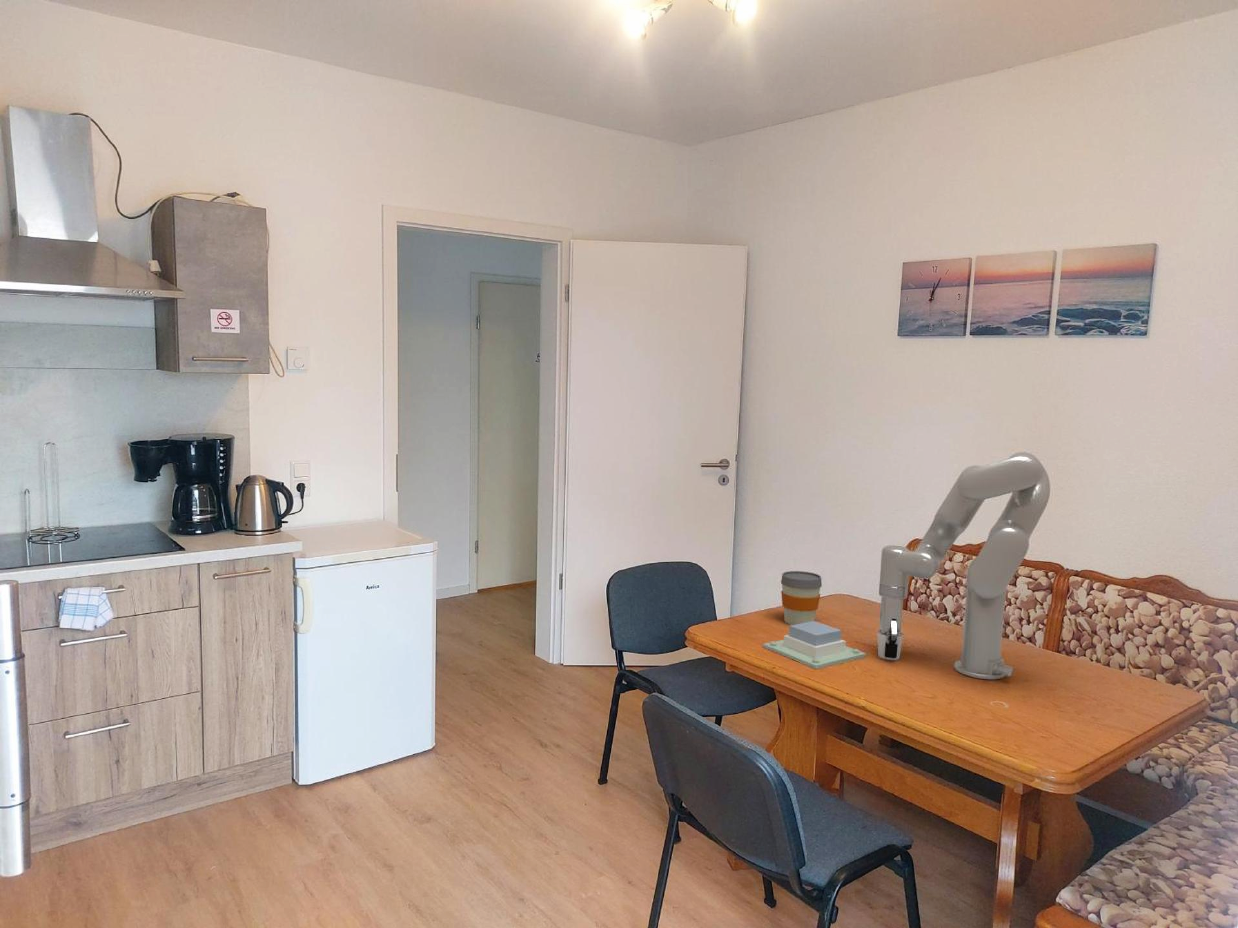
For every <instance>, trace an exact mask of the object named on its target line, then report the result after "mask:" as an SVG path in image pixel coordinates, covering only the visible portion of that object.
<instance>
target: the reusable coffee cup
mask: <svg viewBox="0 0 1238 928" xmlns="http://www.w3.org/2000/svg"><path fill="white" fill-rule="evenodd" d="M780 583H781V588H782V590H781V605H782V607H783V615H784V622H785V624H787V625H788V624H789V625H790V626H791V625H796V624H801V623H806V622H811V621H815V617H816V616H815V615H816V612H817V610H818V609H819V605H820V603H819V602H820V598H821V594H820V591H821V588H822V587H823V586H822V585H823V584H822V583H823V582H822V576H821V575H820V574H817V573H813V572H809V571H799V570H791V571H785V572H783V573H782V574H781V580H780Z"/></svg>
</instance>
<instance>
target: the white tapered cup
mask: <svg viewBox="0 0 1238 928" xmlns="http://www.w3.org/2000/svg"><path fill="white" fill-rule="evenodd" d="M889 632H891V630H889ZM890 636H891V635H889V637H890ZM903 638H904V633H903V632H902V631H901V632H900V633H899V634H898V637H897V644H898V647H897V658H887V657H885V656H884V655H885V643H887V632H885V633H883V632H882V631H881V629H878V630H877V651H878V652H877V656H878V657H879V658H880V659H883V660H886V661H887V660H888V661H898V660H899V659H900V656H901V650H902V645H903Z"/></svg>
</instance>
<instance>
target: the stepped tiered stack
mask: <svg viewBox="0 0 1238 928" xmlns="http://www.w3.org/2000/svg"><path fill="white" fill-rule="evenodd" d="M841 638H842V630H841V629H839V628H835V627H834V626H830V625H827V624H824V623H822V622H820V621H819V622H818V621H816V620H814V621H811V622H806V623H801V624H796V625H791V624H790V625H789V633H788V634H784V635H783V639H780V640H776V641H774V640H771V641H770V642H766V643H763V645H762V648H763V647H764V648H763V649H766V650H768V649H769V650H768V651H771V650H772V651H771V652H773V651H774V652H773V653H775V652H777V653H776V654H777V655H780V654H781V656H783V657H785V656H786V657H785V658H788V659H790V660H792V659H794V660H793V661H795V660H796V661H795V662H797V661H798V662H797V663H801V664H802V665H805V666H807V667H809V668H812V669H814V670H819V669H822V668H826V667H830V666H834V665H839V664H842V663H846V662H851V661H855V659H856V660H859V659H864V658H866V657H867V652H863V651H860V649H859V648H852V647H849V646H847V645H846V643H847V641H846V640H844V639H841Z"/></svg>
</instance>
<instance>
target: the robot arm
mask: <svg viewBox="0 0 1238 928" xmlns="http://www.w3.org/2000/svg"><path fill="white" fill-rule="evenodd" d="M1050 482H1051V481H1050V479H1049V474H1048V473H1047V470H1046V468H1045V467H1044V466H1043V464H1042V463H1041V461H1040V460H1039V459H1038V458H1037V456H1035V455H1034V454H1032V453H1030V452H1026V451H1025V452H1024V451H1020V452H1019V451H1018V452H1015V453H1013V454H1012V455H1010V456H1009V457H1008V458H1005V459H1002V460H998V461H995V462H992V463H988V464H984V465H981V466H980V465H970V466H968V467H966V468H964V469H963V471H961V473H960V474H959V475H958V477H957V479H956V481H955V482H954V484H953V486H952V487H951V489H949V492H948V494H947V495H946V497H945V499H944V500H943V501H942V503H941V504H940V506H939V508H938V510H937V511H936V513H935V515H934V518H933V519H932V520H933V521H932V522H931V524H930V526H929V528H928V529H927V531H926V532H925V534H924V535H923V537H922V539H921V541H920V542H919V544H918V545H917V547H916V548H915V550H913V551H912V550H910V549H909V548H907V547H905V546H902V545H891V544H890V545H885V546H883V548H882V549H881V555H880V556H881V559H880V574H879V585H878V586H879V587H878V595H879V596H880V597H881V599H880V606H879V607H880V608H879V609H880V610H879V618H878V627H879V628H880V629H879V630H881V631H882V632H883V633H885V632H887V643H885V655H884V656H885V657H887V658H897V647H898V644H897V637H898V634H899V633H900V632H901V633H902V630H901V629H902V621H903V609H904V608H903V606H904V605H903V604H904V603H903V602H904V600H905V599H907V598H908V591H909V577H910V576H911V577H914V578H918V579H923V580H924V579H926V580H927V579H930V578H933V577H934V576H935V575H936V574H937V572H938V570H939V568H940V566H941V564H942V562H943V560H944V559H945V557H946V556H947V554H948V552H949V551H950V549H951V548H952V546H953V545H954V544H955V542H956V541H957V539H958V538H959V537H960V535H962V534H963V533H964V532H965V531H966V530H967V528H968V527H969V525H970V524H971V522H972V520H973V518H975V516H976V514H977V512H978V511H979V509H980V508H981V506H982V505H983V503H985V500H987V499H992V498H997V497H1000V496H1003V495H1008V494H1011V496H1010V498H1009V499H1008V501H1007V503H1006V506H1005V508H1004V509H1003V511H1002V513H1001V514H1000V516H999V517H998V518H997V521H996V522H995V524H994V525H993V526H992V527H991V529H990V531H989V533H988V536H987V539H986V540H985V542H984V544H983V546H982V548H981V549H980V551H979V553H978V555H977V556H976V557H975V558H974V559H972V560H971V562H970V563H969V565H968V568H967V573H966V583H967V584H966V595H965V607H964V617H963V629H962V630H963V631H962V643H961V644H962V645H961V654H960V655H961V656H960V657H961V659H959V660H956V661H955V662H954V665H953V667H954V669H955V671H956V672H958V673H960V674H961V675H965V676H968V677H971V678H975V679H983V680H999V679H1003V678H1005V676H1007V677H1011V676H1012V674H1013V670H1014V669H1013V668H1014V667H1012V666H1009V665H1006V664H1005V658H1003V657H1001V654H1002V643H1003V641H1002V640H1003V628H1004V618H1005V607H1006V595H1007V588H1008V586H1009V584H1010V583H1011V581H1012V579H1013V578H1014V575H1016V573H1017V571H1018V570H1019V567H1020V566H1021V564H1022V563H1023V561H1024V559H1025V557H1026V555H1027V553H1028V551H1029V547H1030V537H1031V535H1032V534H1033V531H1035V528H1036V527H1037V525H1038V523H1039V521H1040V519H1041V517H1042V516H1043V514H1044V512H1045V510H1046V507H1047V505H1048V503H1049V499H1050V496H1051V495H1050V494H1051V486H1050V485H1051V484H1050ZM889 630H891V632H889ZM889 635H891V636H890V637H889Z"/></svg>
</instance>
